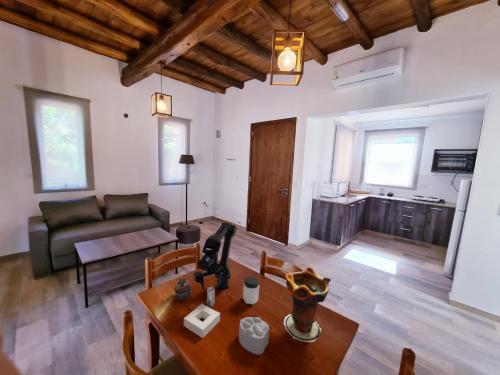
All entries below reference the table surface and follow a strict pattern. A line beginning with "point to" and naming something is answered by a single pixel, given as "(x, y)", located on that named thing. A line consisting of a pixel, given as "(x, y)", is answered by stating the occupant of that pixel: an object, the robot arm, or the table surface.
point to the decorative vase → (305, 303)
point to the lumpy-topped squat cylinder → (253, 334)
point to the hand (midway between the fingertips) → (211, 288)
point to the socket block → (198, 326)
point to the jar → (251, 290)
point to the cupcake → (182, 290)
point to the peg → (210, 296)
